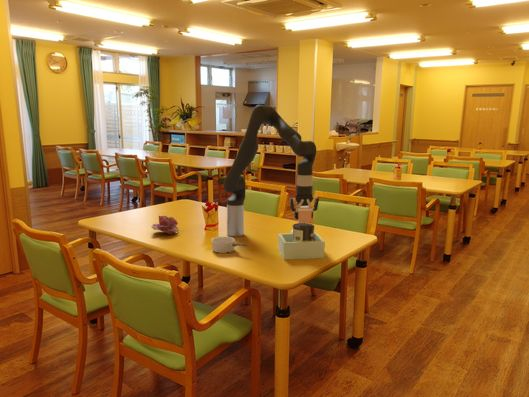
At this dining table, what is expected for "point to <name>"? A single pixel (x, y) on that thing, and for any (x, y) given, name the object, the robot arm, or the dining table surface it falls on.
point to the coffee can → (303, 232)
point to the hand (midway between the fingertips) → (303, 219)
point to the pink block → (304, 214)
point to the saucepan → (224, 244)
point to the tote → (300, 247)
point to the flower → (166, 225)
